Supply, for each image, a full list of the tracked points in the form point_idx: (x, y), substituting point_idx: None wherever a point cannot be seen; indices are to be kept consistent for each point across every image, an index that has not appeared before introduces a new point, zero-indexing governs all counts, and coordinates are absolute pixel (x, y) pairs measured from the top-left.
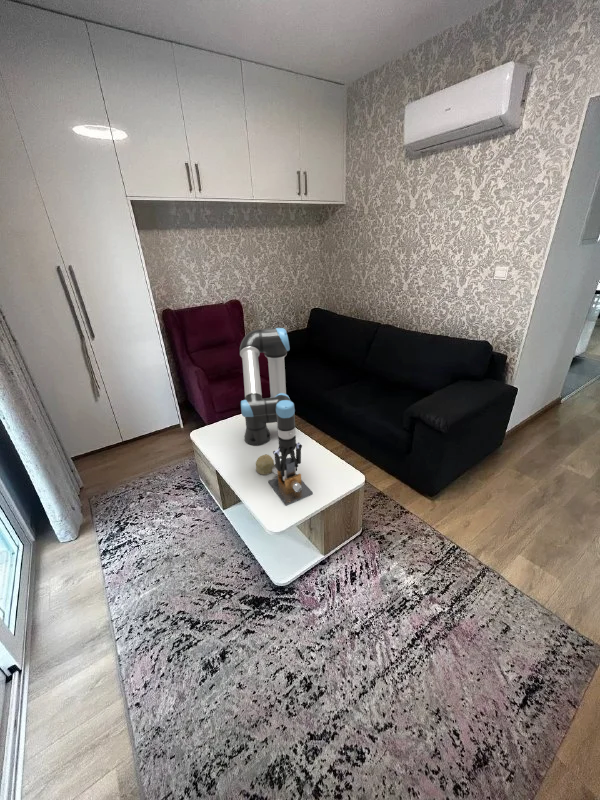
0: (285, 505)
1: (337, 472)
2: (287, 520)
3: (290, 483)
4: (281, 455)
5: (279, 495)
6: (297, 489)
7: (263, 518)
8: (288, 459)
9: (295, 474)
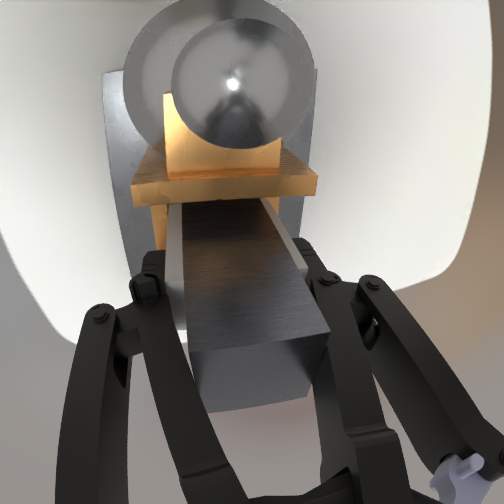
0: None
1: (447, 204)
2: None
3: None
4: (179, 474)
5: (124, 233)
6: None
7: (41, 305)
8: (276, 363)
9: None
